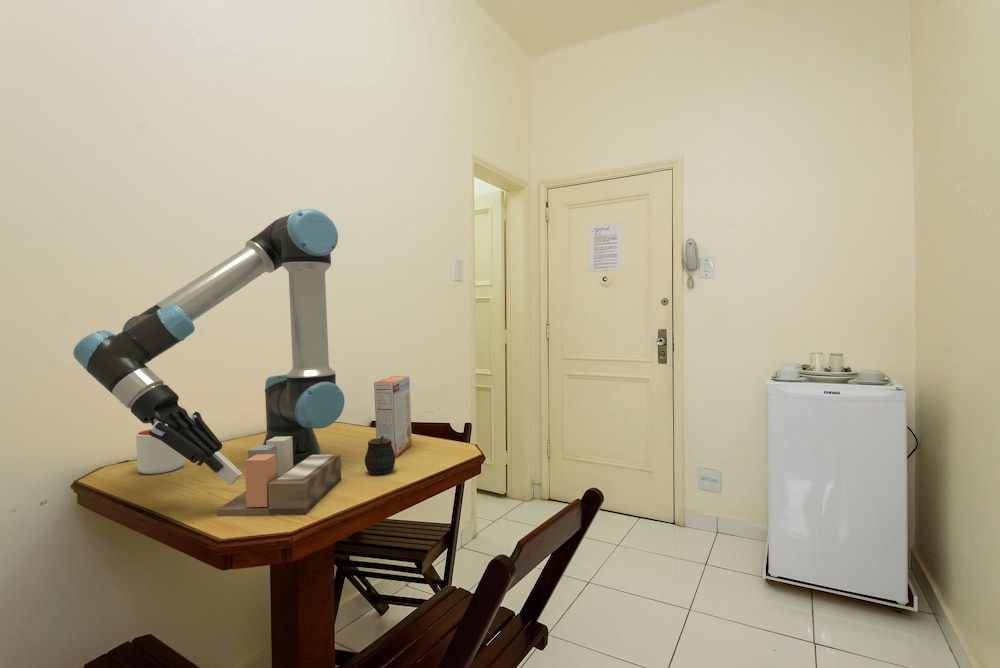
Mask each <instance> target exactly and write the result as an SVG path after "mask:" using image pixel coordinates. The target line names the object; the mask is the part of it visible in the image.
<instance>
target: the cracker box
mask: <svg viewBox="0 0 1000 668" xmlns="http://www.w3.org/2000/svg"><path fill="white" fill-rule="evenodd" d="M373 385H374V387H373V388H374V409H375V410H374V411H375V415H374V416H375V435H376V436H375V438H381V436H383V435H384V436H383V438H389V439H391V440H392V441H391V443H392V444H391V445H392V448H393V451H394V454H395V459H396V458H398V457H399V456H400V455H401V454H402V453H404V452H405V451H406V450H407V449H409V448H410V447H411V446H412V445H413V442H412V441H413V438H412V415H411V414H412V411H411V386H410V385H411V384H410V376H409V375H392V376H390V377H386V378H384V379H381V380H377V381H374V382H373Z"/></svg>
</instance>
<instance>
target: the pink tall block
mask: <svg viewBox="0 0 1000 668" xmlns="http://www.w3.org/2000/svg"><path fill="white" fill-rule="evenodd" d="M244 466H245V467H244V469H245V491H246V507H268V506H269V494H268V484H269V483H270V482H272V481H273V480H275V479H276V478H277V463H276V454H257V455H254V456H253V457H251V458H249V459H248V458H247V459H245V460H244Z"/></svg>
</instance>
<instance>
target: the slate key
mask: <svg viewBox="0 0 1000 668" xmlns="http://www.w3.org/2000/svg"><path fill="white" fill-rule="evenodd" d="M257 454H276V463H277V445H263V444H258V445H255V446H253V447H251V448H250V449H248V450H247V459H249V458H251V457H253V456H254V455H257ZM277 478H278V472H277Z"/></svg>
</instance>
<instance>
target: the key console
mask: <svg viewBox="0 0 1000 668" xmlns="http://www.w3.org/2000/svg"><path fill="white" fill-rule="evenodd" d="M341 463H342V462H341V454H320V455H310V456H308V457H307V458H305V459H304V460H302V461H301V462H300V463H298V464H296V465H293V467H292V468H291V469H289V470H288V471H286V472H285V473H283V474H282V475H281V476H279V477H278V478H276V479H275V480H273V481H272V482H270V483H269V484H268V494H269V506H268V507H246V490H245V491H243V492H242V493H240V494H239V495H237V496H236V497H234V498H233V499H231V500H230V501H228V502H227V503H225V504H223V505H222V506H220V507H219V508H217V509H216V515H217V517H233V516H234V517H235V516H288V515H289V516H292V515H307V513H309V512H310V511H312V509H313V508H314V507H315V506H316V505H317V504H318V503H319V502H321V500H322V499H323V498H325V496H327V494H329V493H330V491H332V490H333V489H334V488H335V486H337V484H338V483H340V482H341V480H342V469H341V467H342V464H341Z"/></svg>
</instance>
